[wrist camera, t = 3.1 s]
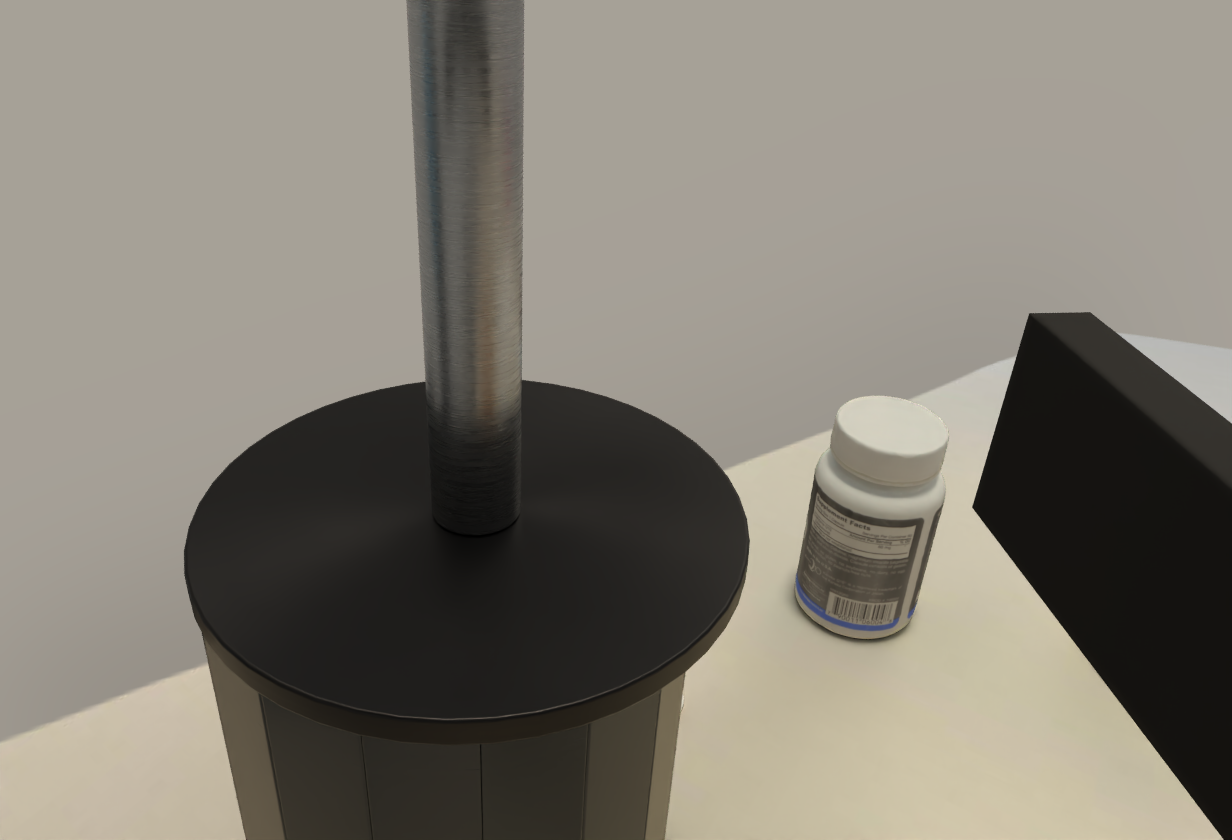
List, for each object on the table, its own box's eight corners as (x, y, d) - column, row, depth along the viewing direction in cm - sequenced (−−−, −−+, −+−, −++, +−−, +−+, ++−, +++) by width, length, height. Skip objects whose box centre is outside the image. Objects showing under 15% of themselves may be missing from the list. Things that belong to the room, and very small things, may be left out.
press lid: (228, 866, 15) (48, 89, 9) (172, 465, 23) (61, -65, 18) (852, 665, 19) (1001, 48, 13) (610, 388, 28) (638, -60, 22)
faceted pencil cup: (311, 1192, 22) (220, 788, 15) (252, 823, 30) (175, 444, 23) (715, 1013, 26) (790, 623, 19) (569, 727, 34) (584, 376, 27)
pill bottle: (842, 549, 43) (879, 377, 39) (936, 608, 40) (988, 429, 36) (768, 594, 40) (799, 414, 36) (863, 661, 37) (909, 474, 33)
